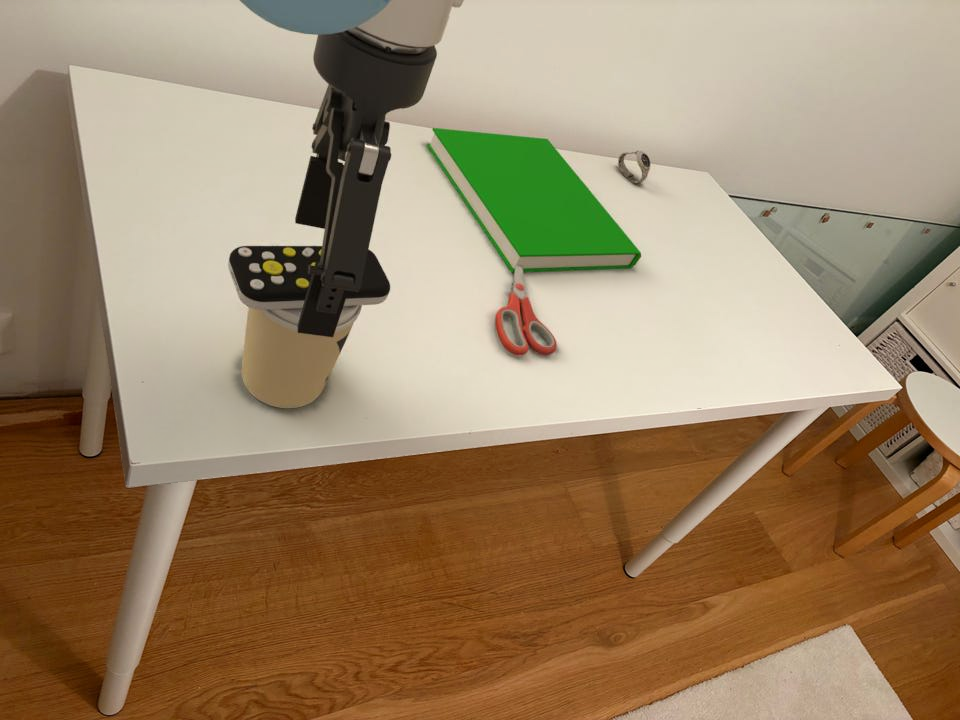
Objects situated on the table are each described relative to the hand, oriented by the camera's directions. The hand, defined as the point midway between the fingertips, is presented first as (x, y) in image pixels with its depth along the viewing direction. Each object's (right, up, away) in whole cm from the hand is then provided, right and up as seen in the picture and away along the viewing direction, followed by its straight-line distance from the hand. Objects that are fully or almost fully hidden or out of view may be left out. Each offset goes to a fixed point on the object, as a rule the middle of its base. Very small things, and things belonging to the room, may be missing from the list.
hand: (312, 274), depth 60 cm
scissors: (+18, +1, +30) cm, 35 cm away
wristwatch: (+40, +25, +68) cm, 83 cm away
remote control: (0, -1, +1) cm, 1 cm away
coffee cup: (-5, -9, +9) cm, 13 cm away
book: (+21, +16, +48) cm, 55 cm away
